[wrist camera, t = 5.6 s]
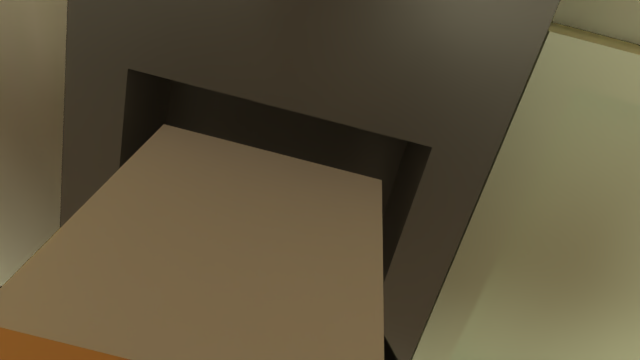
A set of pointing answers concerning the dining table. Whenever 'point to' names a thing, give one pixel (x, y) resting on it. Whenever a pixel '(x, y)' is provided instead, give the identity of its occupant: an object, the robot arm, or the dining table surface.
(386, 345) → the robot arm
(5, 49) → the dining table surface
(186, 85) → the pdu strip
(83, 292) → the plug
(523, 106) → the tray
